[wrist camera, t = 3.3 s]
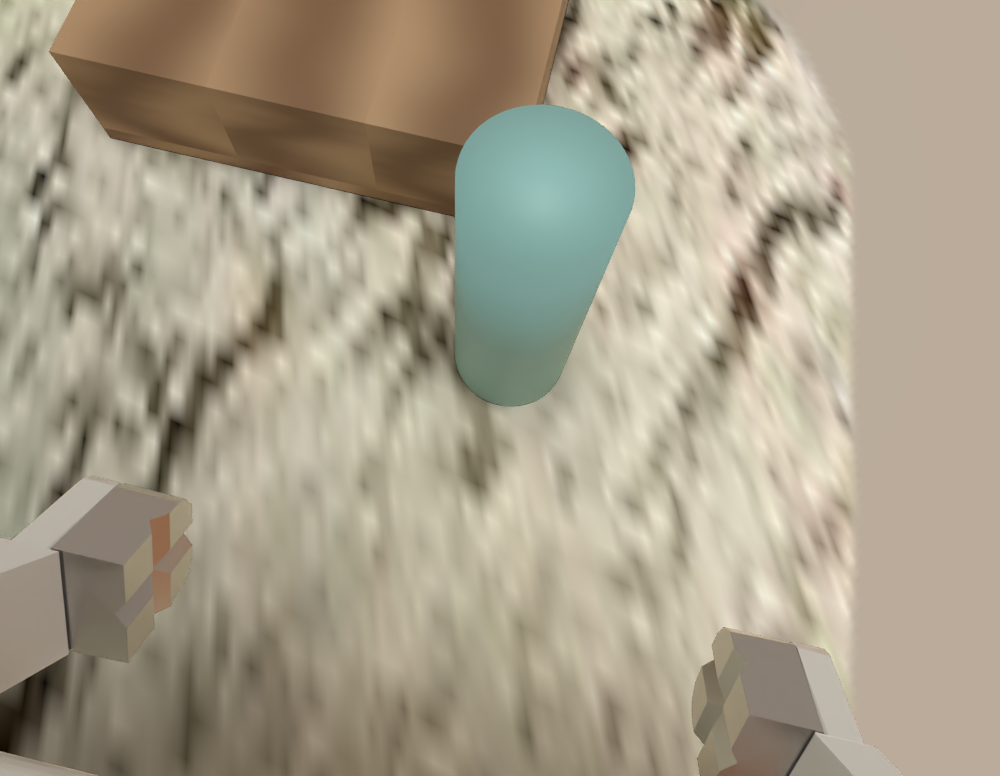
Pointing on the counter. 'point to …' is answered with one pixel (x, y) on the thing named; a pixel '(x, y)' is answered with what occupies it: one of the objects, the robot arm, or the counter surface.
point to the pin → (532, 244)
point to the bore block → (313, 82)
